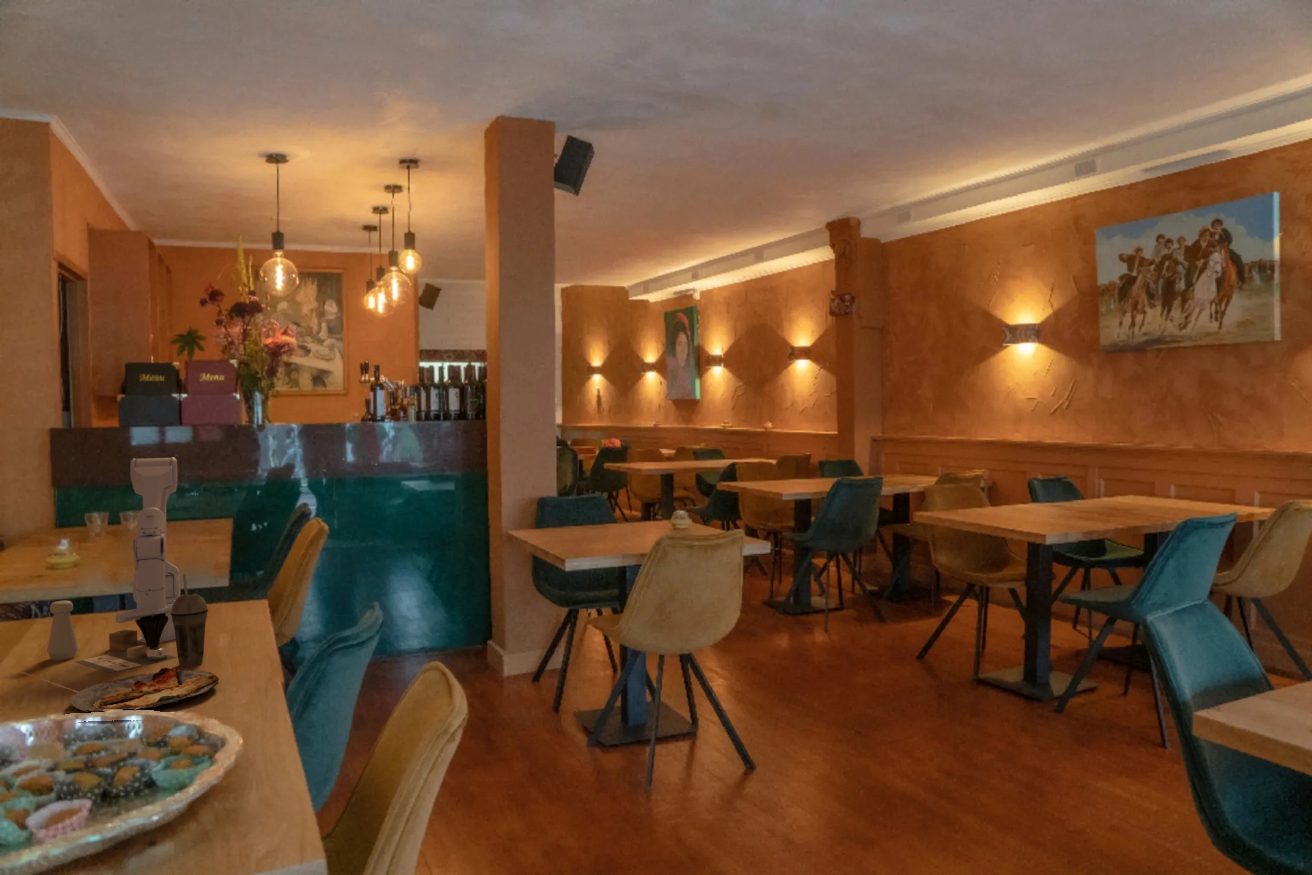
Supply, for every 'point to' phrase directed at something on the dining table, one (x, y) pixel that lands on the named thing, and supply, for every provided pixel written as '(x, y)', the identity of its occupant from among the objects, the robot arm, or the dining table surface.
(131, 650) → the beech disc
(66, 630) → the salt shaker
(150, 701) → the food plate
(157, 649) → the tealight tin
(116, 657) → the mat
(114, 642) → the walnut block
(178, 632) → the beverage cup
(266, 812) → the dining table surface
